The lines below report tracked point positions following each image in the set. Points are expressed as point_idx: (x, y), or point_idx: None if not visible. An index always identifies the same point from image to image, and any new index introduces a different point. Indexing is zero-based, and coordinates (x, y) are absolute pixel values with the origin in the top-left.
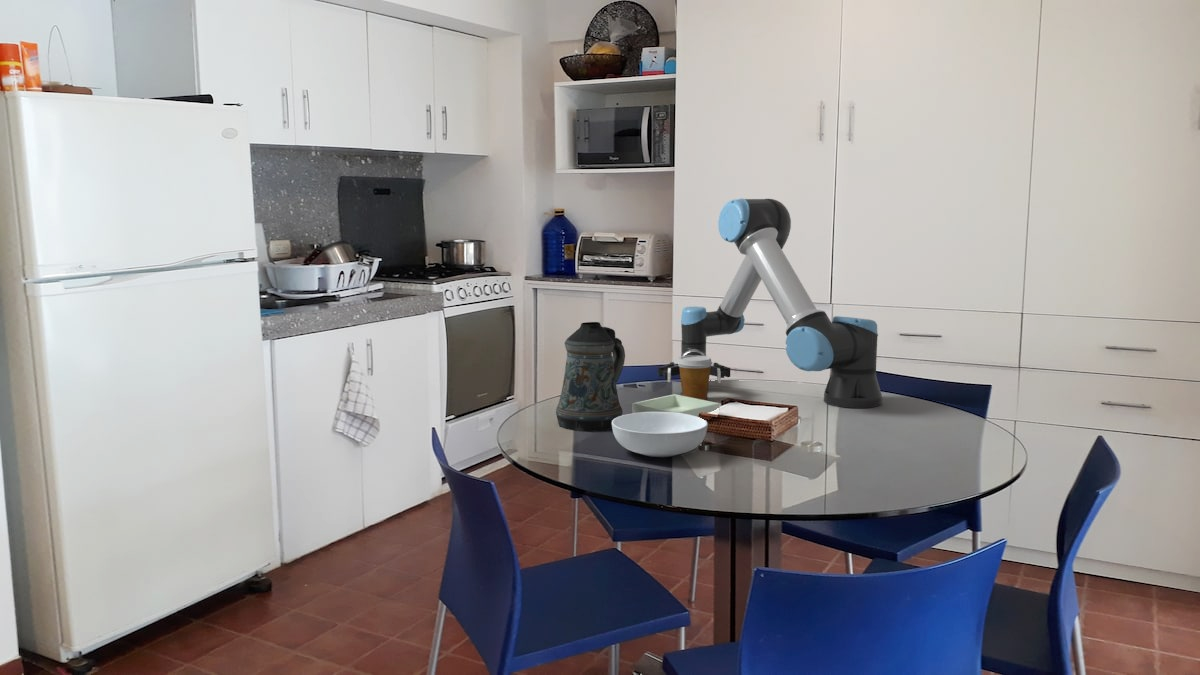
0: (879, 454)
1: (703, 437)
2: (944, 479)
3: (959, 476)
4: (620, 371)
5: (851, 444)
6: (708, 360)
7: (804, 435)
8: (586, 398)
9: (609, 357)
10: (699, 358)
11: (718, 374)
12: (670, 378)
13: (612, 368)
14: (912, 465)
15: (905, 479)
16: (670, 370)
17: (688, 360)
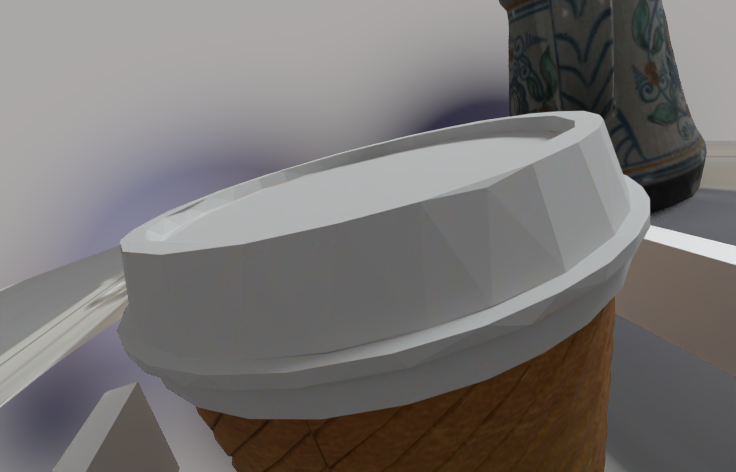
0: (30, 307)
1: None
2: (32, 283)
3: (3, 294)
4: (558, 75)
5: (32, 321)
6: (196, 210)
7: (88, 323)
8: None
9: (509, 24)
10: (301, 212)
11: (138, 399)
12: (656, 311)
13: (511, 58)
14: (25, 296)
15: (80, 269)
16: (704, 255)
17: (389, 140)
